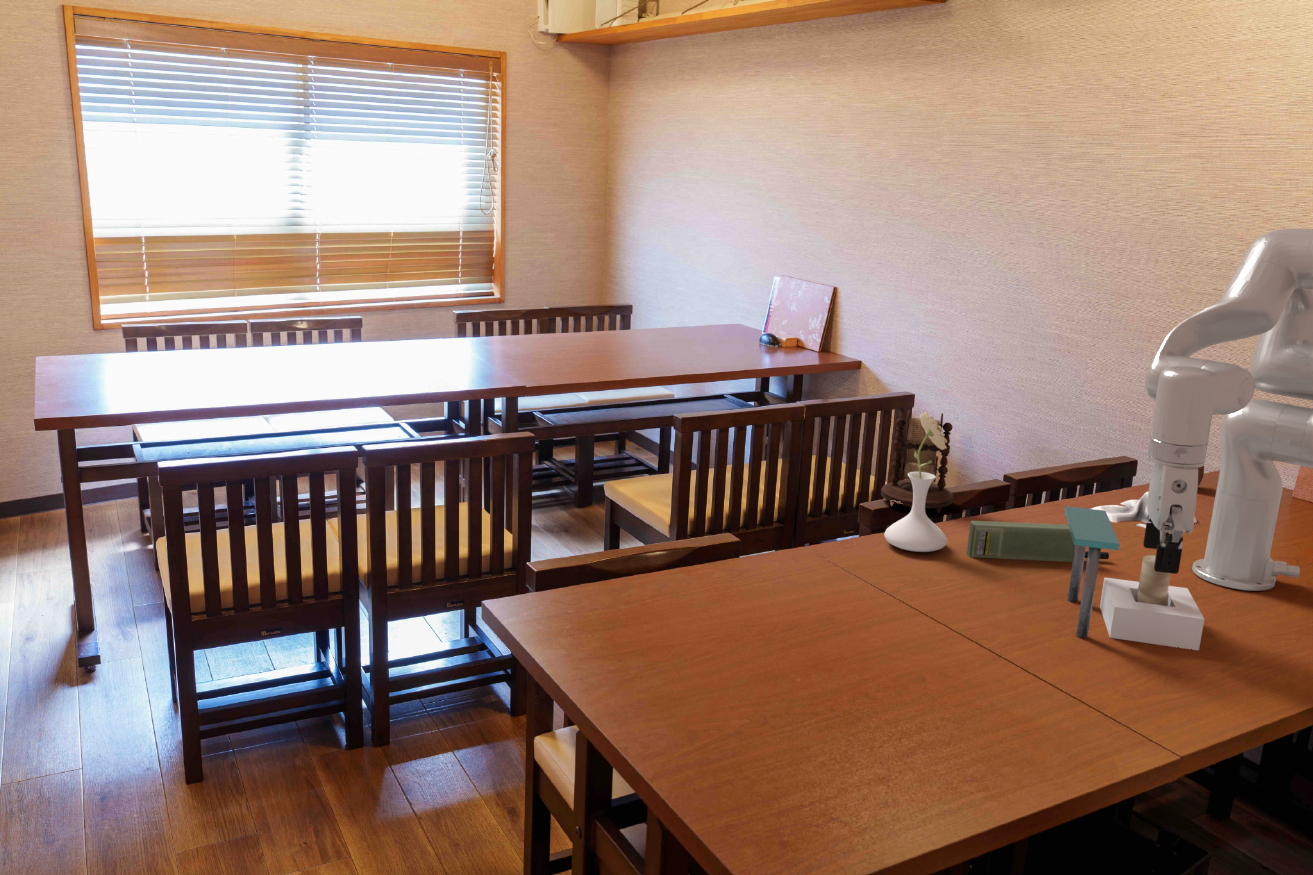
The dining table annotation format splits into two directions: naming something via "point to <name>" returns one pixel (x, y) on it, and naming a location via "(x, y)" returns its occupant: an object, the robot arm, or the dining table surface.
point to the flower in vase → (920, 504)
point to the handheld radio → (1022, 541)
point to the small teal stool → (1095, 534)
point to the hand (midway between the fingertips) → (1159, 559)
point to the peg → (1152, 583)
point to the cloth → (1129, 511)
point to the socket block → (1151, 616)
